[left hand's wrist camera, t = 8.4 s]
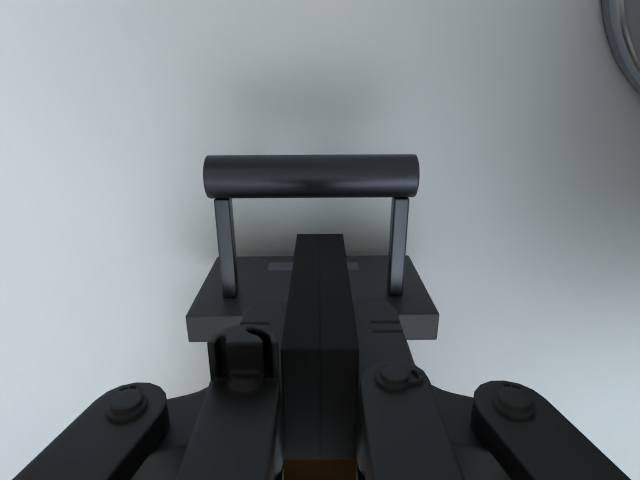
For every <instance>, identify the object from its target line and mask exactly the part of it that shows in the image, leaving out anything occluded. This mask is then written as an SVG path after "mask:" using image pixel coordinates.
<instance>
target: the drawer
mask: <svg viewBox="0 0 640 480" xmlns="http://www.w3.org/2000/svg"><path fill="white" fill-rule="evenodd" d="M203 181H204V188H205V192H206V195H207V197H208V198H215V200H214V206H215V217H216V228H217V239H218V250H219V257H217V259H216V261H215V263H214V265H213V267H212V268H211V270H210V272H209V274H208V276H207V278H206V280H205V281H204V283H203V285H202V287H201V289H200V291H199V293H198V295H197V296H196V298H195V300H194V302H193V304H192V306H191V308H190V309H189V311H188V313H187V315H186V323H187V331H188V339H189V342H208V341H209V340H210V338H211V337H212V336H213V335H214V334H216V333H217V332H219V331H221V330H222V329H225V328H228V327H231V326H235V325H240V321H241V318H242V315H243V312H244V311H245V310H246V309H247V308H248V307H249V306H250V305H251V304H253V303H254V302H287V301H288V295H289V288H290V281H291V274H292V267H293V260H294V256H289V257H236V247H235V234H234V221H233V208H232V198H348V197H392V206H391V224H390V242H389V256H346V260H347V267H348V274H349V281H350V288H351V295H352V300H386V301H387V302H388V303H389V304H390V305H391V306H392V307H394V308H395V309H396V310H397V313H398V316H399V320H400V323H401V326H402V329H403V333H404V335H405V338H406V341H407V340H436V339H437V331H438V321H439V313H438V311H437V309H436V307H435V305H434V303H433V301H432V300H431V298H430V296H429V294H428V292H427V290H426V288H425V286H424V284H423V282H422V280H421V279H420V277H419V275H418V273H417V271H416V269H415V267H414V265H413V263H412V261H411V259H410V258H409V256H405V253H406V239H407V225H408V210H409V198H408V197H414V196H416V194H417V191H418V186H419V162H418V158H417V156H416V155H415V154H385V155H208V156H206V158H205V161H204V166H203ZM407 344H408V343H407ZM408 347H409V346H408ZM409 350H410V349H409ZM410 353H411V352H410ZM411 356H412V355H411ZM412 359H413V357H412ZM413 362H414V360H413ZM414 365H415V363H414ZM283 473H284V480H356V473H357V457H356V460H284V459H283Z"/></svg>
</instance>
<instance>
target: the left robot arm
mask: <svg viewBox="0 0 640 480" xmlns="http://www.w3.org/2000/svg"><path fill="white" fill-rule="evenodd" d="M602 10H603V18H604V24H605V28H606V33H607V37H608V40H609V43H610V46H611V49H612V52H613V54H614V56H615V59H616V61H617V63H618V65H619V67H620V69H621V70H622V72H623V73H624V75H625V77H626V78H627V80H628V81H629V82H630V83H631V85H632V86H633V87H634V88H635V90H636V91H637V92H638V93H639V94H640V0H602ZM207 346H208V356H209V365H210V375H211V381H210V384H209V387H207V388H205V389H203V390H201V391H199V392H196V393H192V394H189V395H185V396H180V397H176V398H171V399H167V398H166V393H165V392H164V391H163V390H162V389H161V387H159V386H157V385H154V384H151V383H132V384H127V385H122V386H119V387H117V388H115V389H113V390H110V391H108V392H106V393H105V394H104V395H102V396H101V397H99V398H98V399H97V400H95V401H94V402H93V403H92V404H91V405H90V406H89V407H88V408H87V409H86V410H85V411H84V412H83V413H82V414H81V415H80V416H79V417H77V418H76V419H75V420H74V421H73V422H72V423H71V424H70V425H69V426H68V427H67V428H66V429H65V430H64V431H63V432H62V433H61V434H60V435H59V436H58V437H56V438H55V439H54V440H53V441H52V442H51V443H50V444H49V445H48V446H47V447H46V448H45V449H44V450H43V451H42V452H41V453H40V454H39V455H38V456H37V457H35V458H34V459H33V460H32V461H31V462H30V463H29V464H28V465H27V466H26V467H25V468H24V469H23V470H22V471H21V472H20V473H19V474H18V475H17V476H16V477H15V478H13V479H12V480H284V473H283V459H284V460H356V457H357V473H356V480H631V479H630V478H629V477H628V476H627V475H625V474H624V473H623V472H622V471H621V470H620V469H619V468H618V467H617V466H616V465H615V464H614V463H613V462H612V461H611V460H610V459H609V458H608V457H606V456H605V455H604V454H603V453H602V452H601V451H600V450H599V449H598V448H597V447H596V446H595V445H594V444H593V443H592V442H591V441H590V440H588V439H587V438H586V437H585V436H584V435H583V434H582V433H581V432H580V431H579V430H578V429H577V428H576V427H575V426H574V425H573V424H572V423H571V422H569V421H568V420H567V419H566V418H565V417H564V416H563V415H562V414H561V413H560V412H559V411H558V410H557V409H556V408H555V407H554V406H553V405H551V404H550V403H549V402H548V401H547V400H546V399H545V398H544V397H542V396H541V395H540V394H538V393H537V392H535V391H534V390H532V389H530V388H528V387H525V386H523V385H521V384H518V383H513V382H508V381H489V382H487V383H484V384H481V385H480V386H479V387H478V388H477V389H476V390H475V392H474V398H472V397H468V396H463V395H459V394H454V393H451V392H447V391H444V390H441V389H439V388H437V387H435V386H433V385H431V383H430V380H429V378H428V377H427V375H426V374H425V372H424V371H423V370H421V369H420V368H419V367H417V366H416V365H414V362H413V359H412V356H411V353H410V350H409V347H408V344H407V341H406V338H405V335H404V333H403V329H402V326H401V323H400V320H399V316H398V313H397V310H396V309H395V308H394V307H392V306H391V305H390V304H389V303H388V302H387V301H386V300H352V295H351V288H350V281H349V274H348V267H347V260H346V253H345V247H344V240H343V234H297V240H296V247H295V253H294V260H293V267H292V274H291V281H290V288H289V295H288V301H287V302H254V303H253V304H251V305H250V306H249V307H248V308H247V309H246V310H245V311H244V312H243V315H242V318H241V321H240V325H235V326H231V327H228V328H225V329H222V330H221V331H219V332H217V333H216V334H214V335H213V336H212V337H211V338H210V340H209V341H208V342H207Z"/></svg>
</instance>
